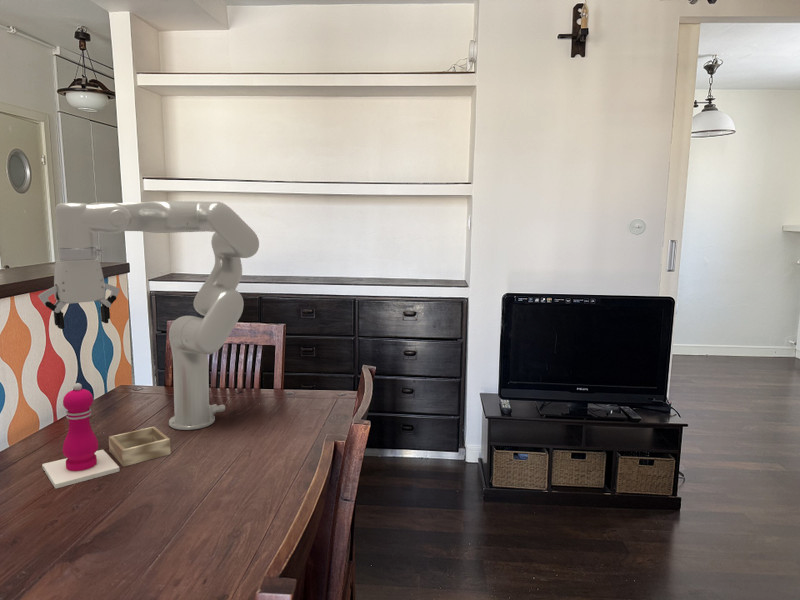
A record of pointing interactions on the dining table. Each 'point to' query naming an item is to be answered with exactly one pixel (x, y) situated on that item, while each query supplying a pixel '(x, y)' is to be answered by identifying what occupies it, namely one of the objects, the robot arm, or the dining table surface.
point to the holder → (139, 446)
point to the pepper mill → (79, 430)
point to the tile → (66, 477)
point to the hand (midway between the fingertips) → (83, 325)
